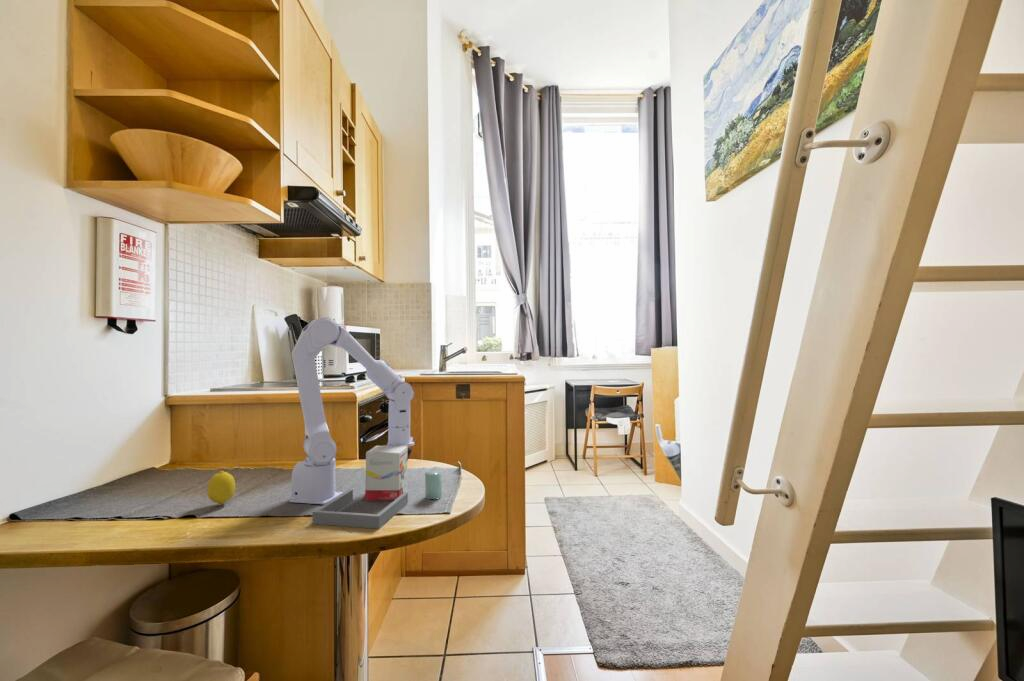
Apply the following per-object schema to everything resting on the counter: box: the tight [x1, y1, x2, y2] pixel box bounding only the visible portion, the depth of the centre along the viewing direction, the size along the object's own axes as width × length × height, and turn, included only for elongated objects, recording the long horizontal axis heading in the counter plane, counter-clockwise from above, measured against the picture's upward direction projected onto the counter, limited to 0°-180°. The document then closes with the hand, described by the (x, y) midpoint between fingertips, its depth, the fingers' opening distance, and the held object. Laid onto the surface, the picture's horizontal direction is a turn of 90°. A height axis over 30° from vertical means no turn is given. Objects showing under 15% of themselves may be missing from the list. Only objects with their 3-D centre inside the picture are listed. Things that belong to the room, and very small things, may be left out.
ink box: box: [364, 444, 409, 502], centre depth 116 cm, size 9×9×12 cm
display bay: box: [311, 489, 409, 530], centre depth 103 cm, size 15×15×2 cm
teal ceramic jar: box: [424, 470, 443, 500], centre depth 114 cm, size 4×4×6 cm
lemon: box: [206, 470, 236, 505], centre depth 108 cm, size 6×6×8 cm
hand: (399, 476), depth 123 cm, fingers closed
